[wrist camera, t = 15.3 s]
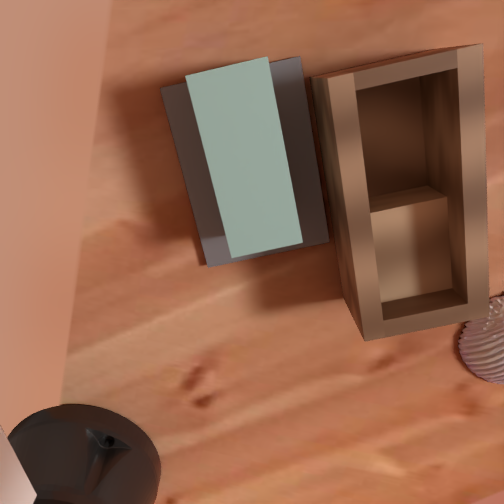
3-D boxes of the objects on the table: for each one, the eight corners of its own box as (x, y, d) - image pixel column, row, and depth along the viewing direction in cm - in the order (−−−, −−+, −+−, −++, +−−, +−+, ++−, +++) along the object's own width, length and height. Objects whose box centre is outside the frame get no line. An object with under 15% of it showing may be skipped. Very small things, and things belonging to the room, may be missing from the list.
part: (294, 220, 36) (303, 242, 32) (231, 234, 36) (231, 258, 32) (262, 58, 32) (267, 56, 27) (192, 75, 32) (185, 75, 27)
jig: (448, 277, 39) (489, 316, 33) (343, 298, 40) (364, 341, 33) (434, 48, 33) (483, 43, 26) (309, 77, 33) (327, 78, 27)
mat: (208, 264, 38) (207, 267, 37) (160, 87, 33) (159, 88, 32) (328, 239, 38) (329, 242, 37) (298, 56, 32) (300, 56, 32)
